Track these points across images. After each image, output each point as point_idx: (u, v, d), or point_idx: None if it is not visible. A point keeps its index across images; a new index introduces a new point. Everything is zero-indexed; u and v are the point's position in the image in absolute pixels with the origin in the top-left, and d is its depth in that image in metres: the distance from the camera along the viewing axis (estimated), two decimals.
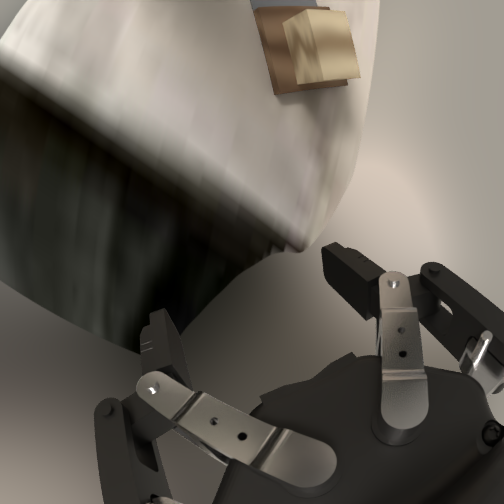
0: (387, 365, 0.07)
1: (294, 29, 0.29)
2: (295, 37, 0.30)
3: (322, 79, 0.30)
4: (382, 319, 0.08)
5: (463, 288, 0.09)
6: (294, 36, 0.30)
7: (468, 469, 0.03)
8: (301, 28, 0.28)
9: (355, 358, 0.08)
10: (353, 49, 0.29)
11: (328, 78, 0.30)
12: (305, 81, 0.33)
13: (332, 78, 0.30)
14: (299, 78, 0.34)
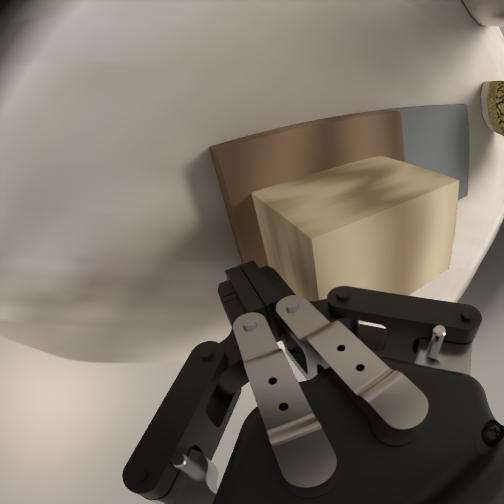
0: (355, 385, 0.06)
1: (388, 168, 0.16)
2: (372, 171, 0.16)
3: (310, 234, 0.11)
4: (314, 348, 0.08)
5: (384, 299, 0.09)
6: (373, 171, 0.16)
7: (468, 469, 0.03)
8: (406, 177, 0.14)
9: None
10: None
11: (318, 253, 0.11)
12: (271, 202, 0.15)
13: (318, 266, 0.11)
14: (270, 192, 0.16)
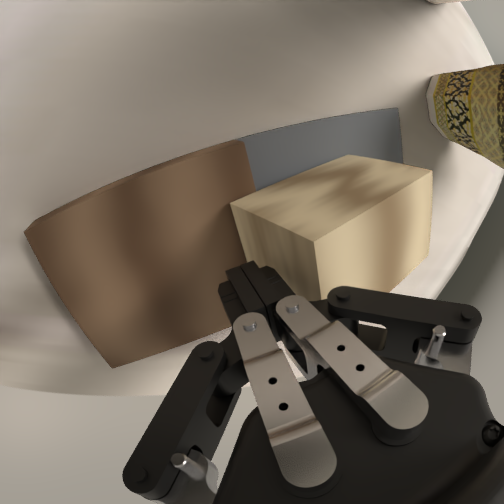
0: (355, 385, 0.06)
1: (361, 166, 0.17)
2: (346, 170, 0.17)
3: (311, 237, 0.11)
4: (314, 348, 0.08)
5: (384, 299, 0.09)
6: (347, 169, 0.17)
7: (468, 469, 0.03)
8: (381, 172, 0.15)
9: None
10: None
11: (319, 255, 0.11)
12: (255, 210, 0.14)
13: (320, 268, 0.11)
14: (250, 200, 0.16)
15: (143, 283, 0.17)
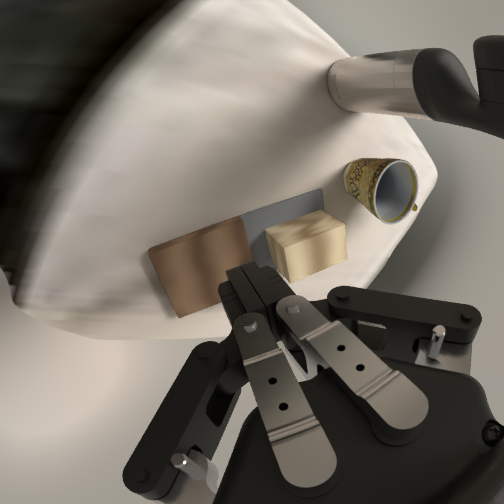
0: (355, 385, 0.06)
1: (319, 218, 0.44)
2: (312, 220, 0.44)
3: (284, 246, 0.39)
4: (314, 348, 0.08)
5: (384, 299, 0.09)
6: (312, 220, 0.44)
7: (468, 469, 0.03)
8: (323, 223, 0.42)
9: None
10: (315, 271, 0.42)
11: (286, 252, 0.39)
12: (272, 234, 0.42)
13: (286, 255, 0.39)
14: (272, 229, 0.44)
15: (200, 276, 0.42)
